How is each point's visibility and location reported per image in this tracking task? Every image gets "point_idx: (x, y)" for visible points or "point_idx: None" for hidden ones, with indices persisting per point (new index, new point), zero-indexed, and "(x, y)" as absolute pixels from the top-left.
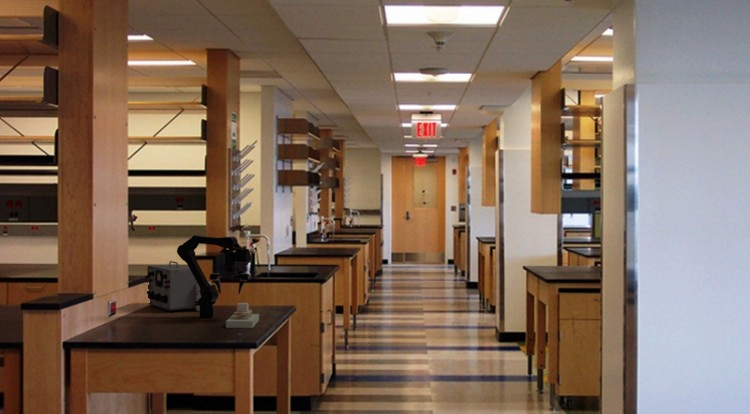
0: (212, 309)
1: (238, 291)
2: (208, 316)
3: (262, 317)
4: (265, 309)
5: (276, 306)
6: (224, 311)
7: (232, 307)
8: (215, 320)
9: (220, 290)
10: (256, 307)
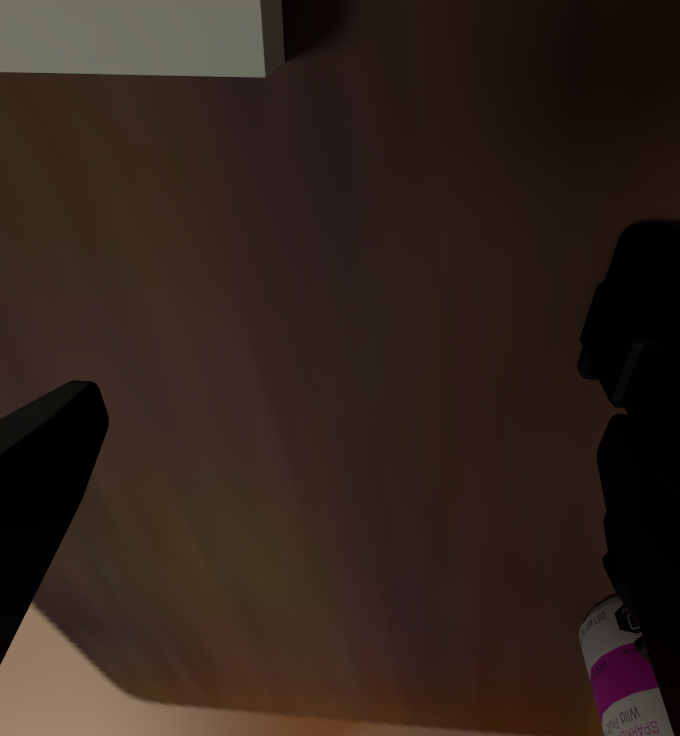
0: (647, 328)
1: (50, 425)
2: (674, 255)
3: (9, 291)
4: (170, 624)
5: (144, 689)
6: (467, 587)
7: (418, 691)
8: (580, 19)
9: (647, 513)
10: (257, 678)
